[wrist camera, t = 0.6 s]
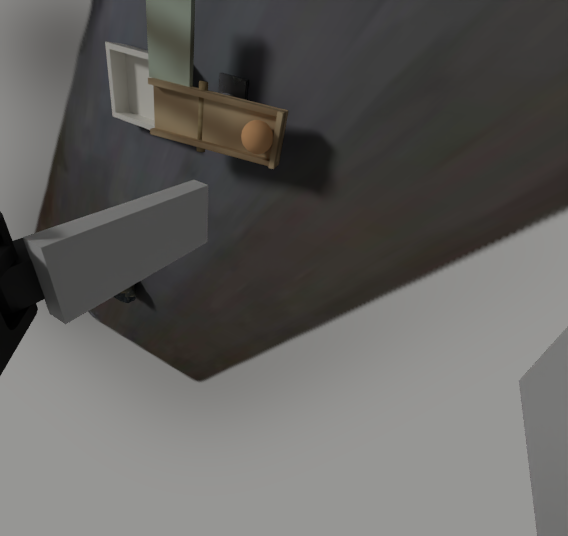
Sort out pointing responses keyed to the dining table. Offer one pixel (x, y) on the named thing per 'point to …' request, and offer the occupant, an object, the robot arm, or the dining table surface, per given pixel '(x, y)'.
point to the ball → (257, 137)
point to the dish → (130, 84)
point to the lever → (198, 92)
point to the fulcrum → (233, 86)
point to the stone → (127, 295)
